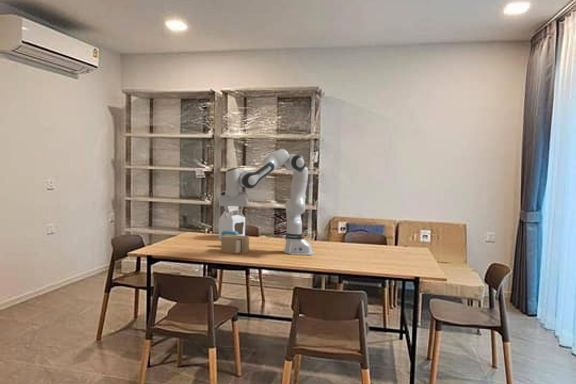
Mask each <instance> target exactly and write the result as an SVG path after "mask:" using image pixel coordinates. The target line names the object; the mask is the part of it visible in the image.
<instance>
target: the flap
mask: <svg viewBox="0 0 576 384" xmlns="http://www.w3.org/2000/svg"><path fill="white" fill-rule="evenodd" d="M240 251H242V239H239V240H237V241H236V253H235V254H240V253H239V252H240Z"/></svg>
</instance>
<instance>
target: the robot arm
mask: <svg viewBox="0 0 576 384" xmlns="http://www.w3.org/2000/svg"><path fill="white" fill-rule="evenodd" d="M262 164H263V165H262V166H261V167H260V168H259V169H257V170H255V171H254V172H245V171H242V170H240V169H239V168H237V167H232V168H228V169H227V170H226V172H225V184H226V189H225V190H223V191H220V192H219V197H218V206H219V207H223V209H224V211H225V210H226V213H229V210H227V208H228V206H239V207H240V210H239V213H243V209H244V207H247V206H249V194H248V193H247V192H243V191H240V189H241V187H244V188H246V189H253V188H256V186H257V185H258V184H259V182H260V181H261V180H262V179H263V178H265V177H267V176H268V175H269V174H270V173H271V172H274V171H275V170H277V169H279V168H280V167H281V166H282V167H284V168H285V169H286V170H292V173H293V175H292V180H291V186H290V198H289V199H288V200H286V202H285V204H284V206H285V213H286V233H285V247H284V250H283V253H285V254H288V255H290V256H291V255H292V256H295V255H296V256H313V255H315V250H313V249H312V248H313V247H312V245H311V243H310V242H308V240H306V239H305V234H304V233H303V221H302V216H301V215H303V214H304V213H305V211H306V193H307V187H308V180H309V179H308V178H309V168H308V167H307V165H306V159H305V157H304V156H302V155H301V154H295V153H292V154H289V152H288V151H287V150H286V149H285V148H280V149H277V150H275V151H273V152H271V153H270V154H268V155H267V156H266V157H265V158H264V159H263V161H262Z"/></svg>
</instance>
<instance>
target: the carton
mask: <svg viewBox="0 0 576 384" xmlns="http://www.w3.org/2000/svg"><path fill="white" fill-rule="evenodd" d="M221 238H222V239H221V240H220V241H221V242H220V244H221V245H220V247H221V248H220V249H221V250H220V252H221V253H231V254H233V253H235V254H237V253H236V241H237V240H239V239H242V251H240V252H239V253H238V254H244V255H245V254H247V253H248V252H249V250H250V235H245V236H241V235H227V234H226V235H223V236H221Z"/></svg>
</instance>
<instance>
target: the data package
mask: <svg viewBox="0 0 576 384" xmlns="http://www.w3.org/2000/svg"><path fill="white" fill-rule="evenodd" d="M226 234H227V235H238V232H237V231H227V230H225V231H223V232H222V236H223V235H226Z"/></svg>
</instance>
